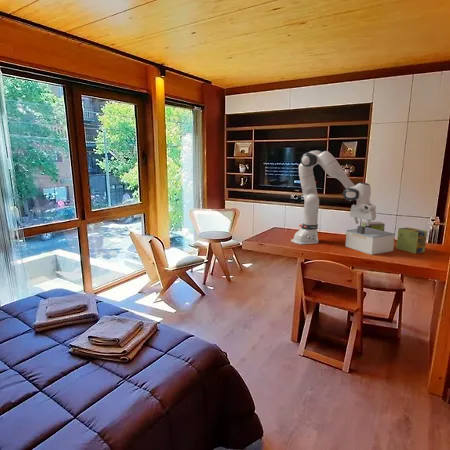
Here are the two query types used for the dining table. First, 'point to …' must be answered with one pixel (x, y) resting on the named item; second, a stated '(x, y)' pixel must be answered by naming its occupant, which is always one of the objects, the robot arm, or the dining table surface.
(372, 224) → the tea box
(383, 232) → the flap
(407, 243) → the protein box
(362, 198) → the robot arm
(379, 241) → the carton
